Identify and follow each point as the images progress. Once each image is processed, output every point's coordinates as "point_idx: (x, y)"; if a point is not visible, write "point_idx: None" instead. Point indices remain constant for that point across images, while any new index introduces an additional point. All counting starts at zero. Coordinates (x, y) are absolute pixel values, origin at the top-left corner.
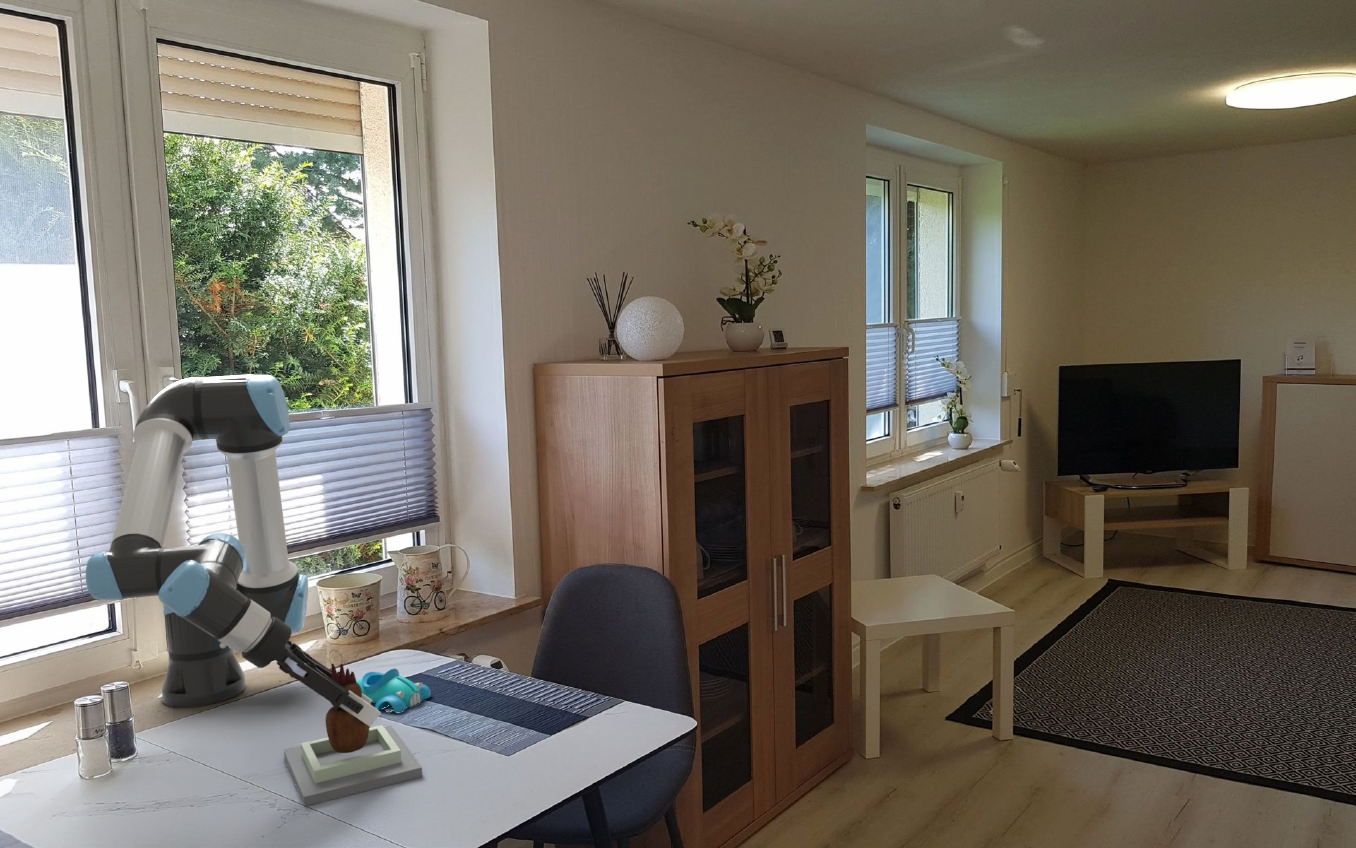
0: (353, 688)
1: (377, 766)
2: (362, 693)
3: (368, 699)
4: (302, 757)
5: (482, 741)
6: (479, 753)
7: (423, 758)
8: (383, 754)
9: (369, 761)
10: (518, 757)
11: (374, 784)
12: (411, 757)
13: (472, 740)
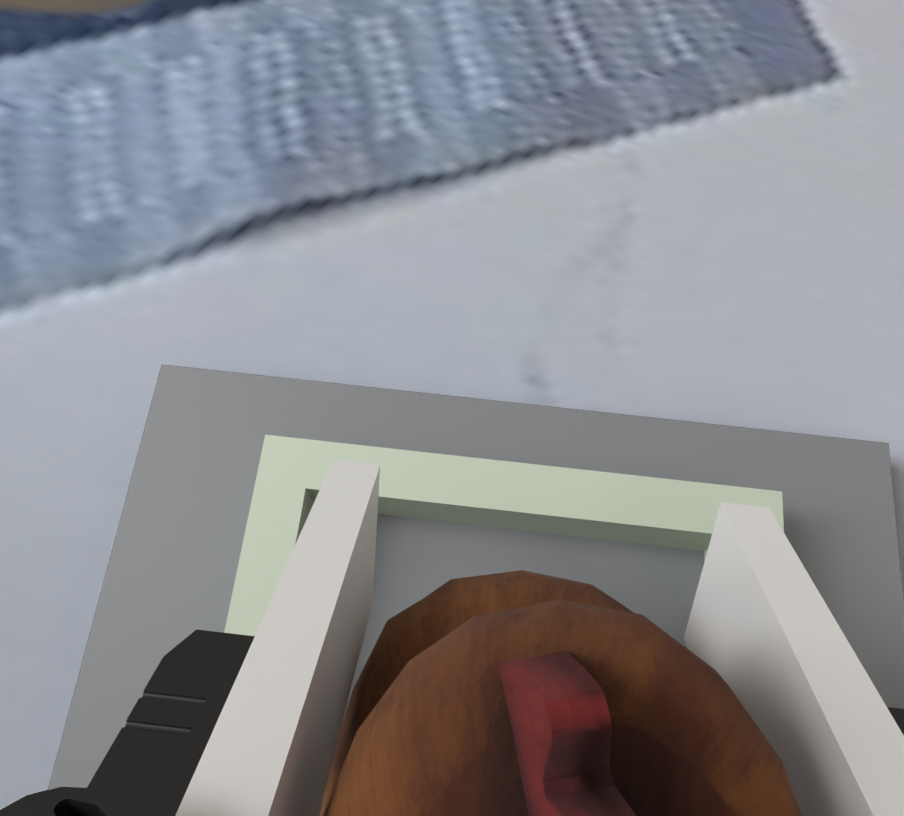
0: (787, 790)
1: None
2: (309, 529)
3: (373, 497)
4: None
5: (611, 93)
6: (739, 152)
7: (630, 371)
8: None
9: None
10: (881, 55)
11: None
12: (715, 439)
13: (569, 120)
